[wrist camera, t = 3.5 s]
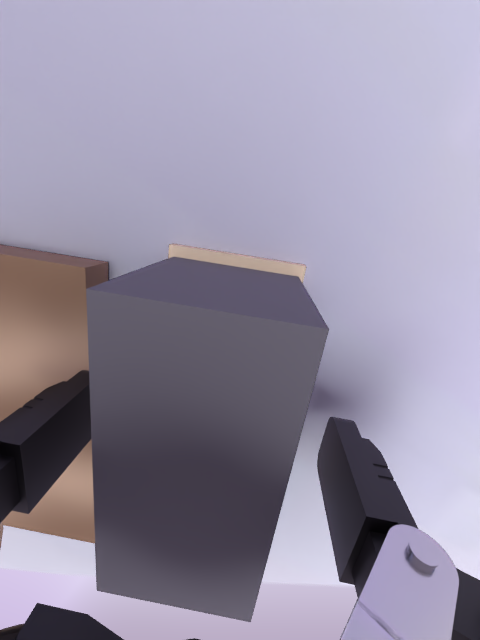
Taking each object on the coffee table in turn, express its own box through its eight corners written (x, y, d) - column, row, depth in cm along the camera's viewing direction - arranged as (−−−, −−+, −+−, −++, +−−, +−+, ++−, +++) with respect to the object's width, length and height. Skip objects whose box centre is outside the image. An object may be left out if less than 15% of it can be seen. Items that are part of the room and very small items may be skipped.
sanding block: (174, 243, 11) (75, 266, 5) (304, 264, 11) (345, 310, 5) (160, 448, 14) (90, 597, 9) (259, 466, 14) (255, 631, 8)
